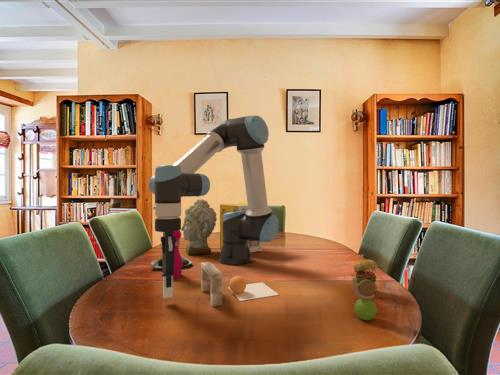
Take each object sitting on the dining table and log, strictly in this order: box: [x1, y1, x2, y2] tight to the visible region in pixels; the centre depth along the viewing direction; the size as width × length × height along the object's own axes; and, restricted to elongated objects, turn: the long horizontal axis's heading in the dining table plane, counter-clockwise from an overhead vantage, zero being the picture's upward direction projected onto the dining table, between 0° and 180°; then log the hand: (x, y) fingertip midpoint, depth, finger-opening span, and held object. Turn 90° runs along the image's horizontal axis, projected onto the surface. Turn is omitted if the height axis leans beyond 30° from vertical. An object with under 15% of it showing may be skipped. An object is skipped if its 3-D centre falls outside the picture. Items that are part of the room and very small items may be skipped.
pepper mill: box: [173, 230, 183, 279], centre depth 114 cm, size 7×7×20 cm
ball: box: [228, 275, 247, 294], centre depth 95 cm, size 6×6×6 cm
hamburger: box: [353, 253, 379, 294], centre depth 97 cm, size 8×7×12 cm
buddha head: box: [180, 199, 218, 256], centre depth 155 cm, size 17×19×28 cm
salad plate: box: [150, 257, 193, 272], centre depth 131 cm, size 19×18×5 cm
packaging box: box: [219, 203, 263, 253], centre depth 159 cm, size 16×16×25 cm
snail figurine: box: [351, 273, 378, 321], centre depth 76 cm, size 5×6×12 cm
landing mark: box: [227, 281, 280, 302], centre depth 97 cm, size 13×13×1 cm
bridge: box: [200, 261, 223, 307], centre depth 92 cm, size 3×14×9 cm, turn 22°
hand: (168, 296), depth 87 cm, fingers closed
